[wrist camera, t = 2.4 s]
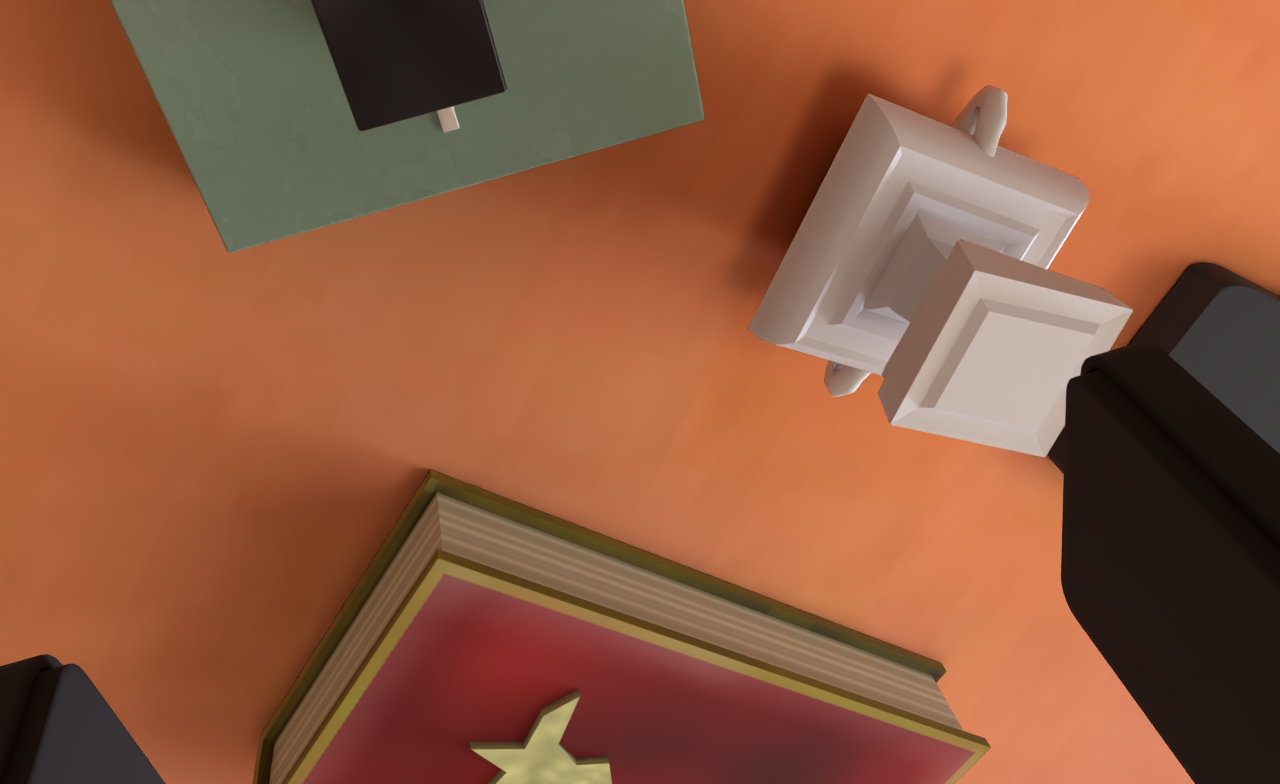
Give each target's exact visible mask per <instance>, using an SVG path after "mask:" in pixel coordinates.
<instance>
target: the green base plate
mask: <svg viewBox="0 0 1280 784" xmlns="http://www.w3.org/2000/svg"><path fill="white" fill-rule="evenodd" d="M110 1H111V3H112V6H113V8H114V10H115V12H116V14H117V16H118V18H119V21H120V23H121V25H122V27H123V29H124V31H125V33H126V36H127V38H128V40H129V42H130V44H131V46H132V48H133V51H134V53H135V55H136V57H137V59H138V61H139V63H140V66H141V68H142V70H143V72H144V74H145V76H146V78H147V81H148V83H149V85H150V87H151V89H152V91H153V93H154V96H155V98H156V100H157V102H158V104H159V106H160V108H161V111H162V113H163V115H164V117H165V119H166V121H167V123H168V126H169V128H170V130H171V132H172V134H173V136H174V138H175V141H176V143H177V145H178V147H179V149H180V151H181V153H182V156H183V158H184V160H185V162H186V164H187V166H188V168H189V171H190V173H191V175H192V177H193V179H194V181H195V183H196V186H197V188H198V190H199V192H200V194H201V196H202V198H203V201H204V203H205V205H206V207H207V209H208V211H209V213H210V216H211V218H212V220H213V222H214V224H215V226H216V228H217V231H218V233H219V235H220V237H221V239H222V241H223V243H224V246H225V248H226V250H227V251H228V253H232V252H235V251H239V250H243V249H246V248H250V247H253V246H257V245H260V244H264V243H268V242H271V241H275V240H278V239H282V238H285V237H289V236H293V235H296V234H300V233H303V232H307V231H310V230H314V229H318V228H321V227H325V226H328V225H332V224H335V223H339V222H343V221H346V220H350V219H353V218H357V217H361V216H364V215H368V214H371V213H375V212H378V211H382V210H386V209H389V208H393V207H396V206H400V205H403V204H407V203H411V202H414V201H418V200H421V199H425V198H428V197H432V196H436V195H439V194H443V193H446V192H450V191H454V190H457V189H461V188H464V187H468V186H471V185H475V184H479V183H482V182H486V181H489V180H493V179H496V178H500V177H504V176H507V175H511V174H514V173H518V172H521V171H525V170H529V169H532V168H536V167H539V166H543V165H546V164H550V163H554V162H557V161H561V160H564V159H568V158H572V157H575V156H579V155H582V154H586V153H589V152H593V151H597V150H600V149H604V148H607V147H611V146H614V145H618V144H622V143H625V142H629V141H632V140H636V139H639V138H643V137H647V136H650V135H654V134H657V133H661V132H664V131H668V130H672V129H675V128H679V127H682V126H686V125H690V124H693V123H697V122H700V121H703V120H704V119H705V116H704V110H703V105H702V99H701V94H700V88H699V82H698V77H697V71H696V66H695V60H694V55H693V49H692V44H691V38H690V33H689V27H688V22H687V16H686V11H685V5H684V0H483V3H484V7H485V11H486V14H487V18H488V21H489V25H490V28H491V32H492V35H493V39H494V43H495V46H496V50H497V53H498V57H499V60H500V64H501V67H502V71H503V75H504V78H505V82H506V85H507V91H505V92H504V93H500V94H496V95H493V96H489V97H486V98H482V99H478V100H475V101H471V102H467V103H464V104H460V105H457V106H453V107H449V108H446V109H442V110H438V111H435V112H431V113H427V114H424V115H420V116H417V117H413V118H409V119H406V120H402V121H398V122H395V123H391V124H388V125H384V126H380V127H377V128H373V129H369V130H366V131H359V130H358V128H357V125H356V123H355V120H354V117H353V115H352V112H351V109H350V106H349V104H348V101H347V98H346V95H345V93H344V90H343V87H342V85H341V82H340V79H339V76H338V74H337V71H336V68H335V65H334V63H333V60H332V57H331V55H330V52H329V49H328V46H327V44H326V41H325V38H324V35H323V33H322V30H321V27H320V25H319V22H318V19H317V16H316V14H315V11H314V8H313V5H312V3H311V0H110Z"/></svg>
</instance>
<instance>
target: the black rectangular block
mask: <svg viewBox="0 0 1280 784" xmlns="http://www.w3.org/2000/svg"><path fill="white" fill-rule="evenodd" d="M311 3H312V5H313V8H314V11H315V14H316V16H317V19H318V22H319V25H320V27H321V30H322V33H323V35H324V38H325V41H326V44H327V46H328V49H329V52H330V55H331V57H332V60H333V63H334V65H335V68H336V71H337V74H338V76H339V79H340V82H341V85H342V87H343V90H344V93H345V95H346V98H347V101H348V104H349V106H350V109H351V112H352V115H353V117H354V120H355V123H356V125H357V128H358V130H359V131H366V130H369V129H373V128H377V127H380V126H384V125H388V124H391V123H395V122H398V121H402V120H406V119H409V118H413V117H417V116H420V115H424V114H427V113H431V112H435V111H438V110H442V109H446V108H449V107H453V106H457V105H460V104H464V103H467V102H471V101H475V100H478V99H482V98H486V97H489V96H493V95H496V94H500V93H504V92H505V91H507V85H506V82H505V78H504V75H503V71H502V67H501V64H500V60H499V57H498V53H497V50H496V46H495V43H494V39H493V35H492V32H491V28H490V25H489V21H488V18H487V14H486V11H485V7H484V3H483V0H311Z"/></svg>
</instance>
